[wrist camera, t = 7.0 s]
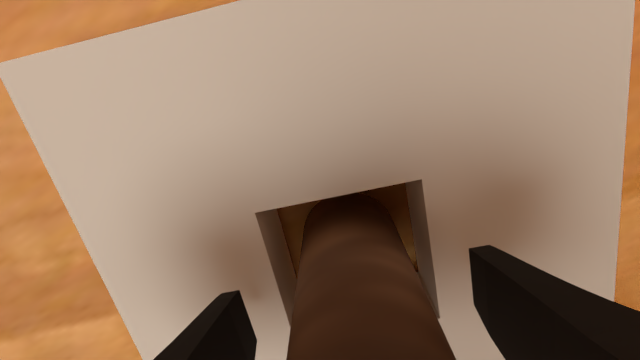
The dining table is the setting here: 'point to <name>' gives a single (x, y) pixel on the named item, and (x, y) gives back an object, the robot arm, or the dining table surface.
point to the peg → (360, 289)
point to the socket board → (335, 146)
